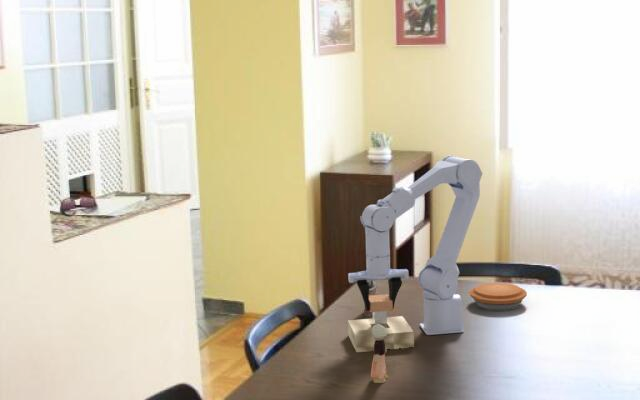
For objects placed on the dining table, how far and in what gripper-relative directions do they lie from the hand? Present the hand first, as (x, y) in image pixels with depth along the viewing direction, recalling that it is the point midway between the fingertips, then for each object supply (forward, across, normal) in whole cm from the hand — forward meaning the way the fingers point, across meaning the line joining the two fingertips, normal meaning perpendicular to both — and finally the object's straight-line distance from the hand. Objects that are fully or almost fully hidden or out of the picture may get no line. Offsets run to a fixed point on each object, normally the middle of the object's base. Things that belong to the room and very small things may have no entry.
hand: (379, 308), depth 219 cm
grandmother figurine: (+9, -5, -24) cm, 26 cm away
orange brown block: (+3, 0, 0) cm, 3 cm away
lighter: (+9, +2, +23) cm, 25 cm away
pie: (+9, +37, +21) cm, 43 cm away
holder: (+8, 0, 0) cm, 8 cm away
